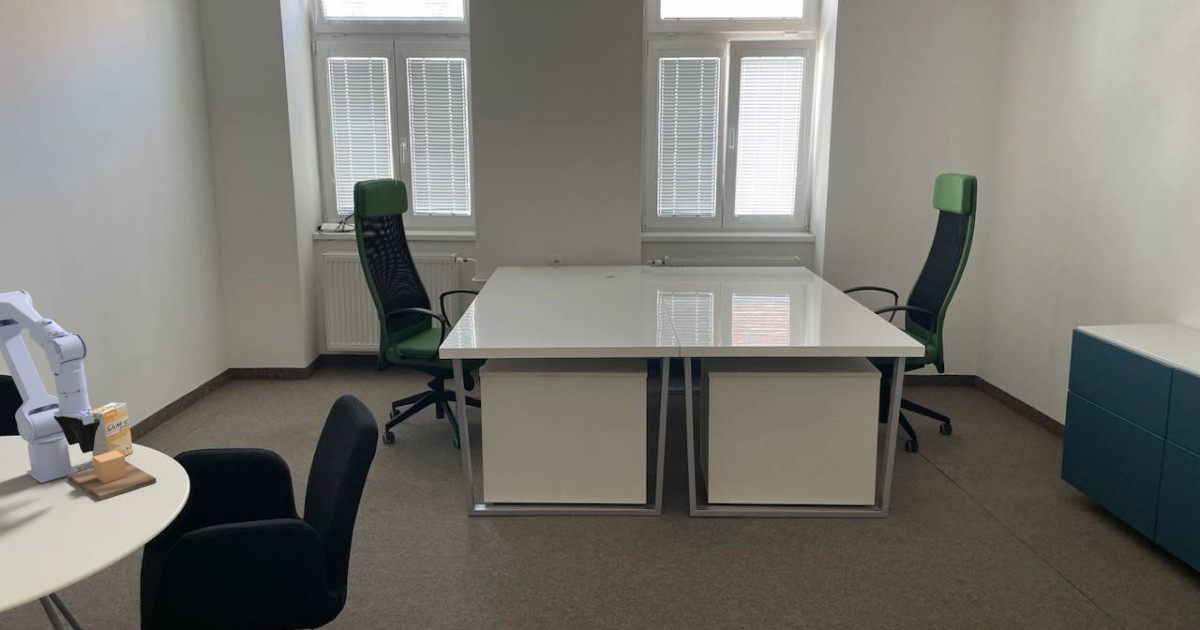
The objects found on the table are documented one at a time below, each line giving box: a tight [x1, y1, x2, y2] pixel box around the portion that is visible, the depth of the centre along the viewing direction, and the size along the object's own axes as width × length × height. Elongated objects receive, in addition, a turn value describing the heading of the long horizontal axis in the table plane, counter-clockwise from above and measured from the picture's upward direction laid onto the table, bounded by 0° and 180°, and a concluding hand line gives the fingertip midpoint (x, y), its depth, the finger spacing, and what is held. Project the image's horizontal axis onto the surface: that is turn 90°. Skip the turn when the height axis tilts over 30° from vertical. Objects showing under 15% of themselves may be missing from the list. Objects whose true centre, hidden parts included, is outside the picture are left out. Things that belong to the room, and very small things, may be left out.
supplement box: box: [91, 402, 134, 458], centre depth 217 cm, size 8×5×13 cm, turn 168°
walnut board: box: [67, 460, 157, 501], centre depth 206 cm, size 18×12×1 cm, turn 50°
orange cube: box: [92, 451, 127, 483], centre depth 205 cm, size 5×5×5 cm
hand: (81, 447), depth 200 cm, fingers open, 7 cm apart
